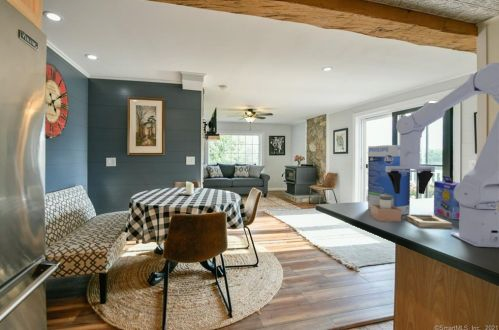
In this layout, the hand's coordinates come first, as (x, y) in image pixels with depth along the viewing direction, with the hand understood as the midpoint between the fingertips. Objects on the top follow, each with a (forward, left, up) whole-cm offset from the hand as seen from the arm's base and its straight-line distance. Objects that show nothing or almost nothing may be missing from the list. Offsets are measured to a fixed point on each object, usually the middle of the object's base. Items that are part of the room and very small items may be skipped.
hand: (409, 193), depth 84 cm
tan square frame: (-3, -4, -9) cm, 11 cm away
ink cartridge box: (+8, -17, -10) cm, 22 cm away
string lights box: (+13, +2, -10) cm, 16 cm away
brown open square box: (+2, +7, -9) cm, 12 cm away
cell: (+2, +7, -9) cm, 11 cm away
